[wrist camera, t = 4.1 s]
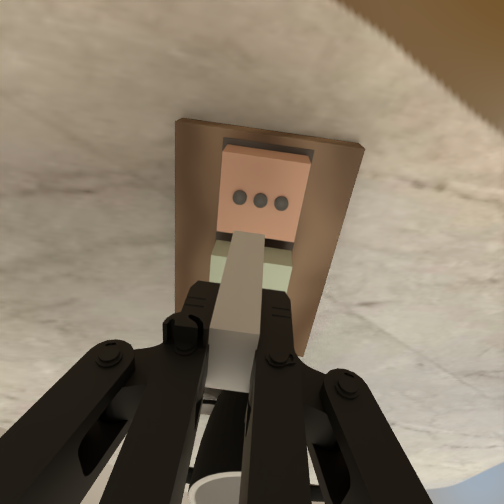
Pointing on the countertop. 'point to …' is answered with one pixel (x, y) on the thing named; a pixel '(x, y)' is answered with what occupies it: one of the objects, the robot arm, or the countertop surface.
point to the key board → (303, 248)
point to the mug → (223, 453)
